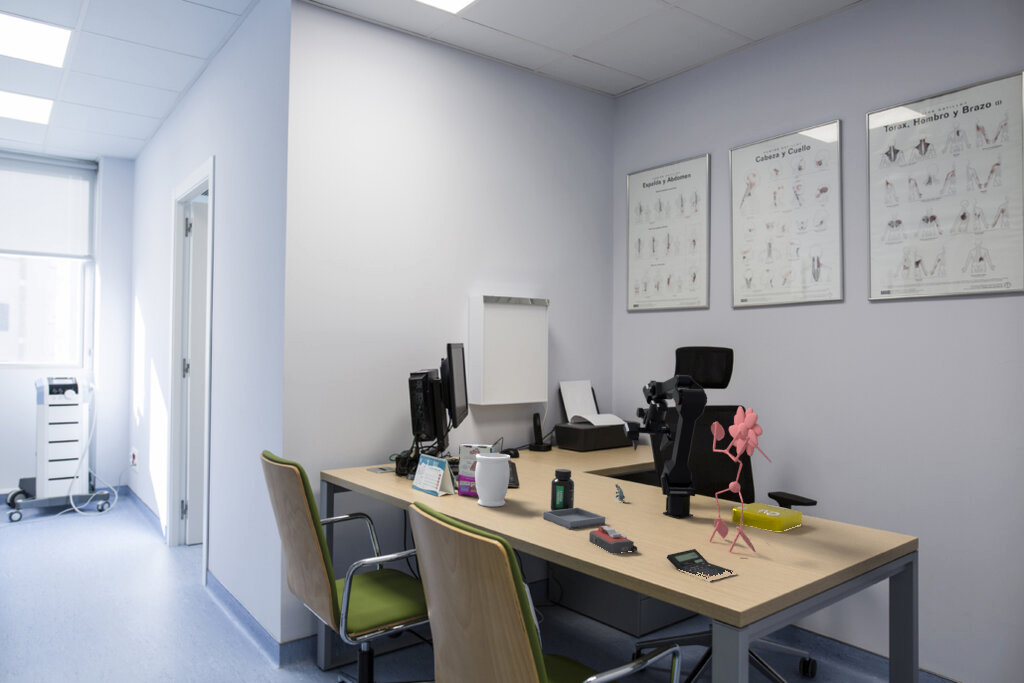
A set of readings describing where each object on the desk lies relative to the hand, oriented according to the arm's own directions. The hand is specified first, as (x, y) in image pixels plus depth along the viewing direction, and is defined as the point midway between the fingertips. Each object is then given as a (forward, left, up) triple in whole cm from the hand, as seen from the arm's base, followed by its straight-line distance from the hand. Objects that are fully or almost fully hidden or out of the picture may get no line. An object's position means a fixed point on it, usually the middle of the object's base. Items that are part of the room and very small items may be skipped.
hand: (647, 450), depth 226 cm
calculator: (-66, +48, -15) cm, 83 cm away
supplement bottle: (-8, +42, -15) cm, 46 cm away
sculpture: (-6, +18, -16) cm, 24 cm away
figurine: (-58, +23, -15) cm, 64 cm away
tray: (-20, +47, -15) cm, 53 cm away
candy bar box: (+21, +55, -15) cm, 61 cm away
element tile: (-46, -3, -16) cm, 48 cm away
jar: (+8, +57, -15) cm, 60 cm away
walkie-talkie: (-40, +53, -16) cm, 68 cm away
